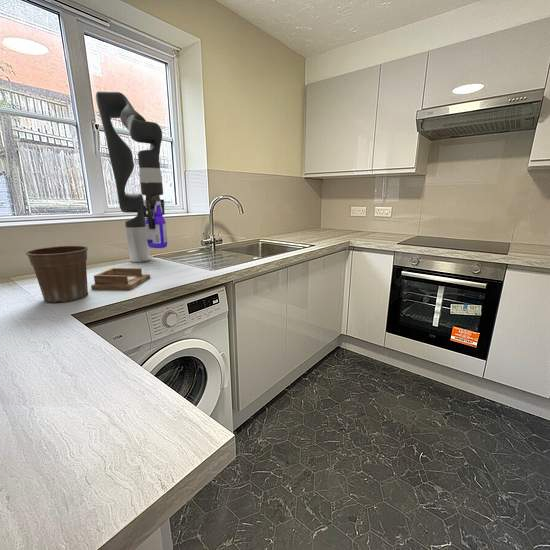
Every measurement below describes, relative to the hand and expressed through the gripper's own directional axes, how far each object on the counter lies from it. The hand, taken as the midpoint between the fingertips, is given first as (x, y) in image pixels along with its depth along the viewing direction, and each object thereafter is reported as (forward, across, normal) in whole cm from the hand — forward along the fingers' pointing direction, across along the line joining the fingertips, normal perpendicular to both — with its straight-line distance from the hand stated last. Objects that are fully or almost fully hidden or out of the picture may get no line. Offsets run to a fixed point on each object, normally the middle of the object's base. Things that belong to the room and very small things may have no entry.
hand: (156, 227), depth 113 cm
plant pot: (+21, +21, -23) cm, 38 cm away
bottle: (+8, 0, 0) cm, 8 cm away
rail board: (+21, +5, -13) cm, 25 cm away
